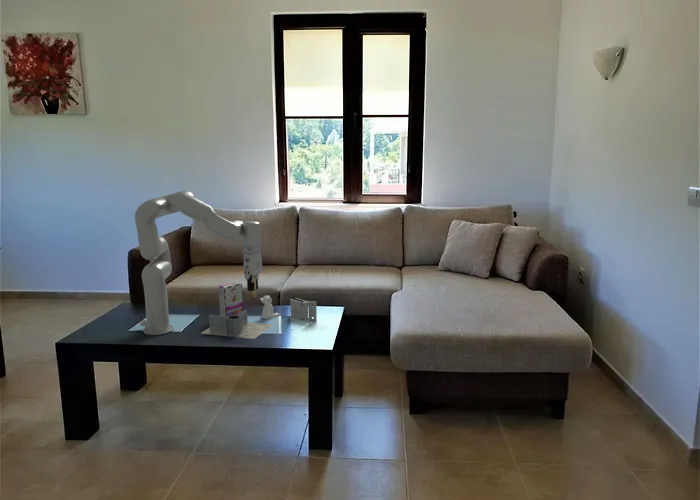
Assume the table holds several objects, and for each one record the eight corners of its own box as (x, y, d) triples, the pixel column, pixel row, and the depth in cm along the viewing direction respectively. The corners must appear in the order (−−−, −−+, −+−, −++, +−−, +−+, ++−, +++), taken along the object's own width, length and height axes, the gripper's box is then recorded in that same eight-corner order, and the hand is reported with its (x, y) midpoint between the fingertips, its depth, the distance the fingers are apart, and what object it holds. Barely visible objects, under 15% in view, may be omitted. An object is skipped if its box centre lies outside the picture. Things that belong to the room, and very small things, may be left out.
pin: (248, 296, 242) (247, 275, 240) (251, 295, 245) (250, 273, 243) (254, 297, 241) (254, 275, 240) (257, 295, 244) (257, 274, 242)
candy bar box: (236, 313, 272) (235, 281, 269) (243, 315, 269) (242, 283, 266) (219, 318, 264) (217, 285, 261) (226, 320, 261) (224, 287, 258)
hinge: (317, 321, 259) (317, 301, 257) (310, 324, 255) (310, 304, 253) (293, 317, 266) (293, 297, 264) (287, 320, 262) (286, 300, 260)
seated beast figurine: (281, 317, 266) (280, 293, 264) (274, 322, 258) (274, 298, 256) (263, 315, 269) (262, 292, 267) (256, 320, 261) (255, 296, 258)
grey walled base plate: (200, 335, 239) (199, 318, 238) (222, 322, 258) (221, 305, 257) (254, 341, 232) (253, 323, 231) (273, 327, 251) (272, 309, 250)
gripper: (251, 253, 231) (252, 294, 234) (267, 246, 246) (267, 286, 249) (235, 252, 233) (236, 293, 236) (252, 245, 248) (253, 284, 251)
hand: (252, 289), depth 243 cm, fingers closed on pin, 3 cm apart
